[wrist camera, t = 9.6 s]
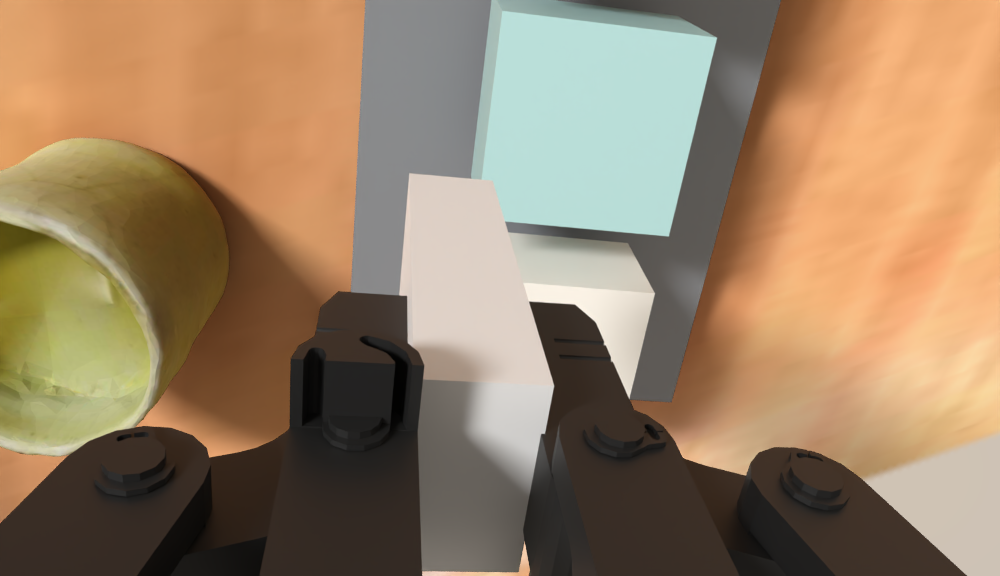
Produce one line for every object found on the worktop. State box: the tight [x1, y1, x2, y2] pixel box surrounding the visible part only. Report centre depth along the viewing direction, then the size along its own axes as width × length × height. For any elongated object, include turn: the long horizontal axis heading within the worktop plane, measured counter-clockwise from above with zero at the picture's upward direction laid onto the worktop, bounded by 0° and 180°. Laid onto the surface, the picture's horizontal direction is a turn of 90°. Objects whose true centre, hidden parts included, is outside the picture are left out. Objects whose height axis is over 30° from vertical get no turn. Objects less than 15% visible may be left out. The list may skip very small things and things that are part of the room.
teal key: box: [471, 0, 717, 236], centre depth 25 cm, size 6×6×4 cm
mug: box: [0, 138, 229, 456], centre depth 28 cm, size 12×10×10 cm
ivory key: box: [508, 232, 655, 398], centre depth 28 cm, size 6×6×4 cm
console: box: [351, 0, 781, 402], centre depth 27 cm, size 14×26×5 cm, turn 173°
